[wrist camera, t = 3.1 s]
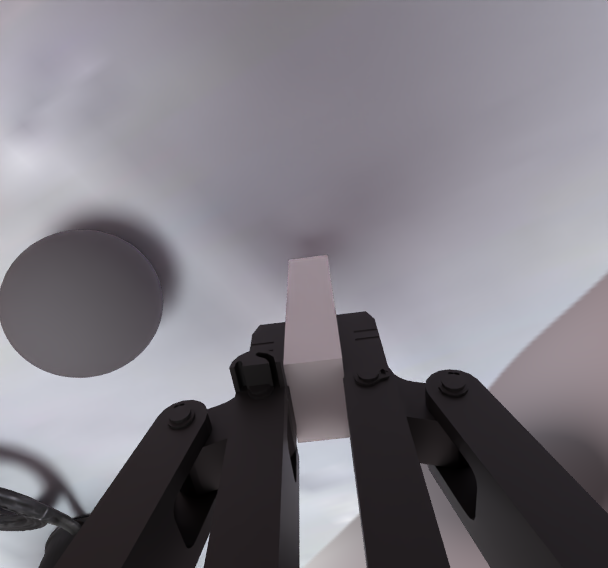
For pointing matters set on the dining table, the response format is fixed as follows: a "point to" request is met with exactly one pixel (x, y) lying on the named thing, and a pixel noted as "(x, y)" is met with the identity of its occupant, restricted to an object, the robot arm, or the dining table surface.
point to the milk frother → (39, 523)
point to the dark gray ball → (80, 303)
